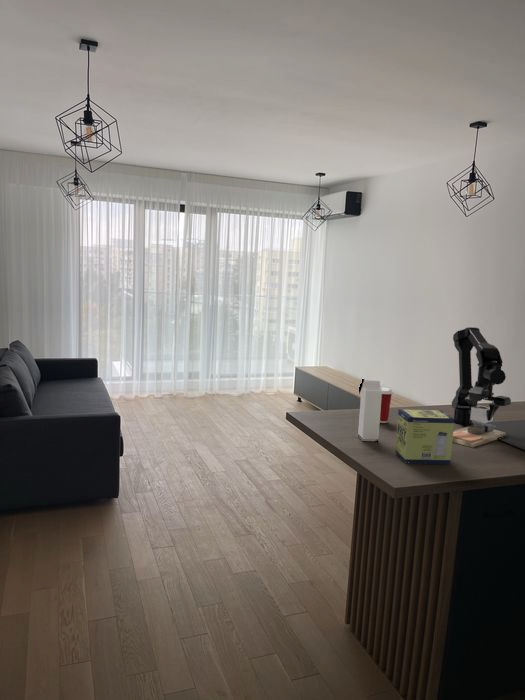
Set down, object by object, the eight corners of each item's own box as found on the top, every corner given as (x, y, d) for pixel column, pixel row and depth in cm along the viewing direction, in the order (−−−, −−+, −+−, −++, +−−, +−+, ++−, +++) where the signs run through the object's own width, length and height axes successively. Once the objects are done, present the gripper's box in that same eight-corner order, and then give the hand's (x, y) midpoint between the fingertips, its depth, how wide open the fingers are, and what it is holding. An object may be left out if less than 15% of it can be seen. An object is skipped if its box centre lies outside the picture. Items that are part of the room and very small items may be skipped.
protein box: (394, 453, 181) (397, 408, 179) (438, 454, 182) (442, 410, 180) (404, 464, 171) (408, 416, 169) (451, 464, 172) (455, 418, 170)
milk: (357, 437, 199) (361, 378, 196) (373, 437, 199) (377, 379, 196) (362, 442, 193) (366, 382, 190) (378, 442, 193) (382, 382, 190)
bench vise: (467, 432, 206) (469, 414, 205) (484, 427, 215) (486, 410, 214) (479, 435, 203) (480, 417, 202) (495, 430, 212) (497, 412, 211)
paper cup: (390, 420, 224) (393, 388, 222) (389, 425, 217) (391, 391, 215) (372, 418, 227) (374, 386, 225) (369, 422, 220) (372, 389, 218)
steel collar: (470, 419, 208) (471, 407, 207) (477, 417, 212) (479, 405, 211) (485, 423, 203) (486, 410, 203) (492, 420, 207) (493, 408, 207)
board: (440, 438, 201) (440, 433, 201) (474, 428, 218) (474, 423, 218) (472, 447, 192) (473, 441, 191) (505, 436, 209) (506, 431, 208)
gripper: (452, 377, 207) (448, 416, 209) (499, 385, 193) (495, 427, 195) (466, 374, 214) (463, 412, 216) (513, 382, 200) (509, 423, 202)
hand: (481, 418), depth 207 cm, fingers closed on steel collar, 6 cm apart
